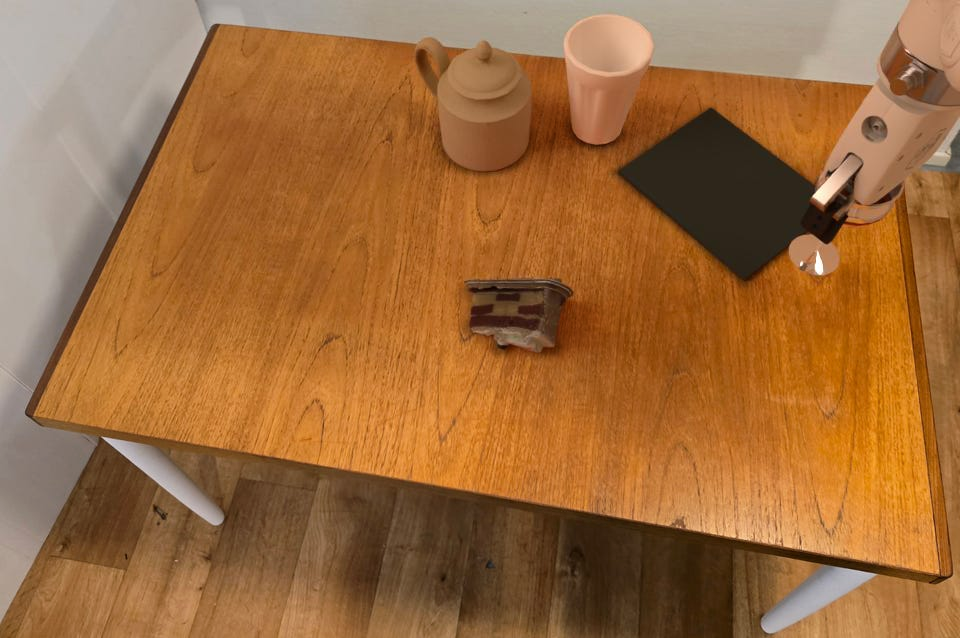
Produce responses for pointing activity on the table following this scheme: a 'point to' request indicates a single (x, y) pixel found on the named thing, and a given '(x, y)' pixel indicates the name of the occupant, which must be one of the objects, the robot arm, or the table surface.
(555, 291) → the checkered cake slice
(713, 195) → the mat
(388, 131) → the table surface
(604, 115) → the cup
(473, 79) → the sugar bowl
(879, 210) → the wineglass
